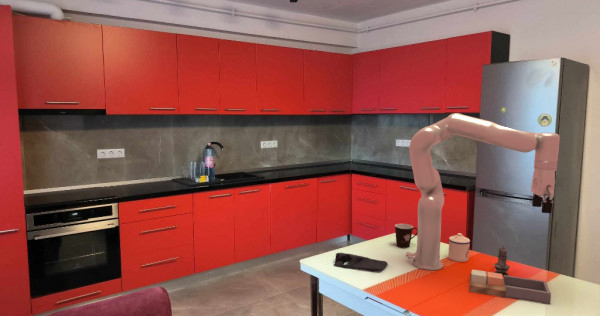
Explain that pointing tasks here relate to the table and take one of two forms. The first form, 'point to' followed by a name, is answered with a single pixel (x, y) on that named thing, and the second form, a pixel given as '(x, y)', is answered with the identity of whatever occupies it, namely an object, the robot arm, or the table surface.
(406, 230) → the coffee mug
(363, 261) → the dark slate chunk
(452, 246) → the teacup with lid
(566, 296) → the table surface
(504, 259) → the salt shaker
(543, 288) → the box
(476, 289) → the board
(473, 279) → the cream white block
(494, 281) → the salmon orange block
